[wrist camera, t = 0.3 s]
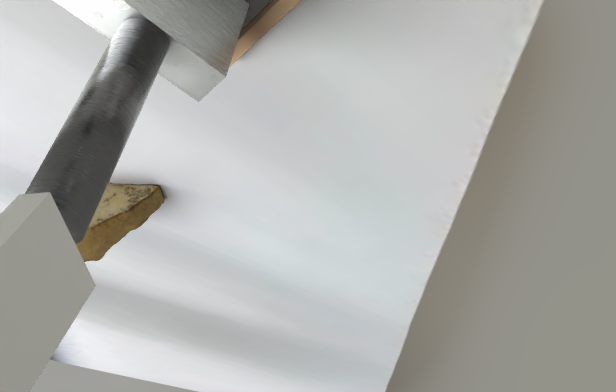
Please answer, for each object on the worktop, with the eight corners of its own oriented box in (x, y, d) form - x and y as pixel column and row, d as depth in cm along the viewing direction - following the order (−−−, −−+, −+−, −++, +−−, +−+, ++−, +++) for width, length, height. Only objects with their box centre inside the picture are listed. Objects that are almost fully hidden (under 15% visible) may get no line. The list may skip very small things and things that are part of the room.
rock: (168, 188, 55) (56, 166, 52) (150, 278, 54) (36, 261, 52) (165, 187, 65) (70, 169, 62) (149, 262, 65) (54, 247, 62)
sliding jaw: (123, -101, 36) (-58, 148, 22) (249, 4, 41) (163, 264, 27) (102, -68, 38) (-78, 182, 24) (224, 29, 43) (132, 285, 29)
